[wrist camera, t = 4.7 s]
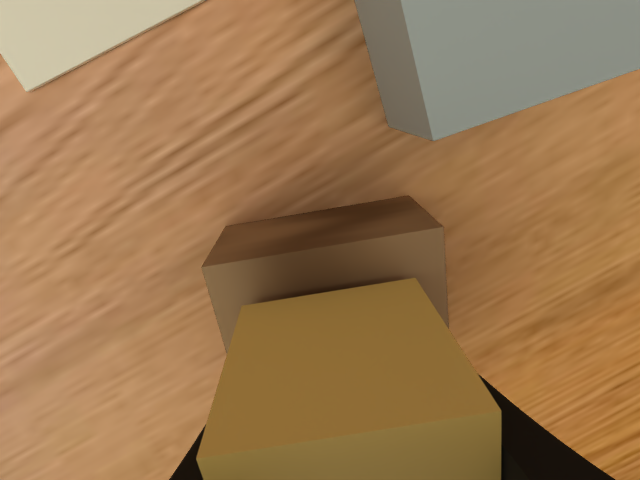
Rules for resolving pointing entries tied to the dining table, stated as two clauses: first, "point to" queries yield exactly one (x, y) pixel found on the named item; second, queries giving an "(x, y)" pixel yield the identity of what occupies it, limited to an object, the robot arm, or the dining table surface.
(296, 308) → the mustard brick
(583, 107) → the dining table surface
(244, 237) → the walnut base
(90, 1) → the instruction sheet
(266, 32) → the dining table surface
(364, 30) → the slate brick
